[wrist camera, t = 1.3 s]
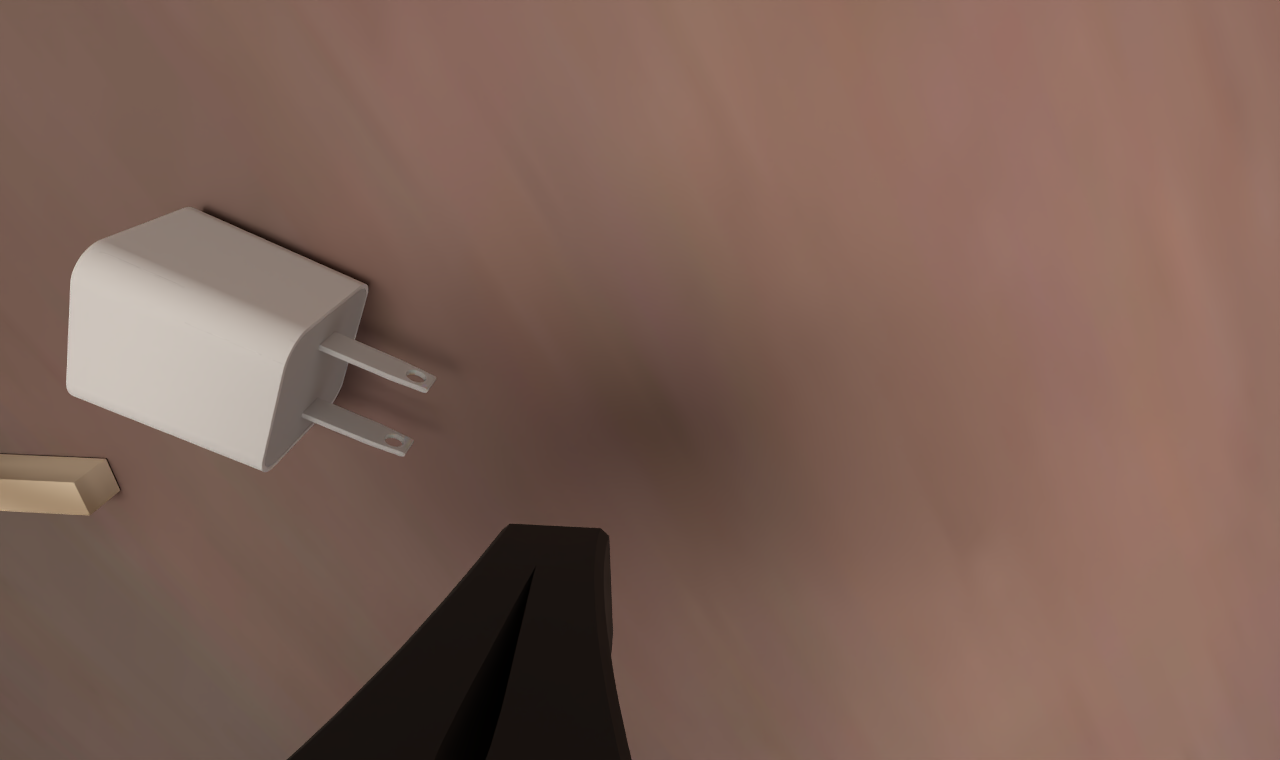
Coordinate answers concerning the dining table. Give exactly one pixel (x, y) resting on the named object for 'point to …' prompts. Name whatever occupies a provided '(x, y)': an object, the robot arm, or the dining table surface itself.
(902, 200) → the dining table surface
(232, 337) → the usb wall charger
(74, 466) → the charger bay
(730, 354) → the dining table surface
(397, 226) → the dining table surface
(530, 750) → the robot arm
